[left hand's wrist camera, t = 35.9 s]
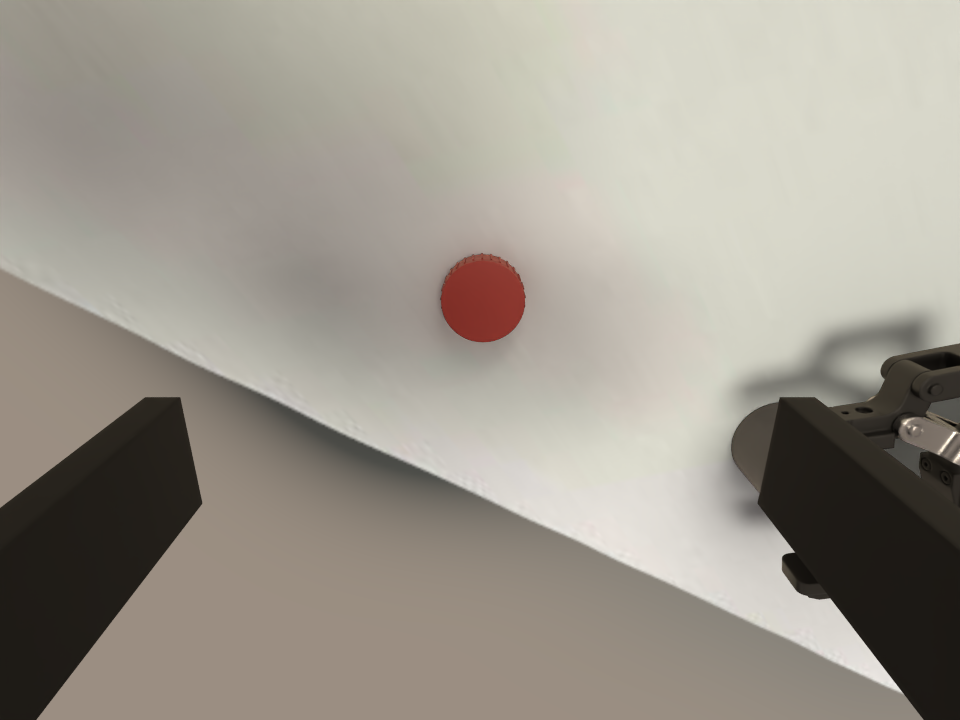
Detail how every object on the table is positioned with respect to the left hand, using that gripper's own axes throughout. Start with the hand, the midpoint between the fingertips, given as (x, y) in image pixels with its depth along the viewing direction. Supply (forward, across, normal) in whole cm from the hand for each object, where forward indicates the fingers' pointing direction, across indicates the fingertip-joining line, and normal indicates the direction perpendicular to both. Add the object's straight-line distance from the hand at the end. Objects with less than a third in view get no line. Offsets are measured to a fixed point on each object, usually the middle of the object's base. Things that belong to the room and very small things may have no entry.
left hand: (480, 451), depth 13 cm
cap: (+16, 0, -1) cm, 16 cm away
